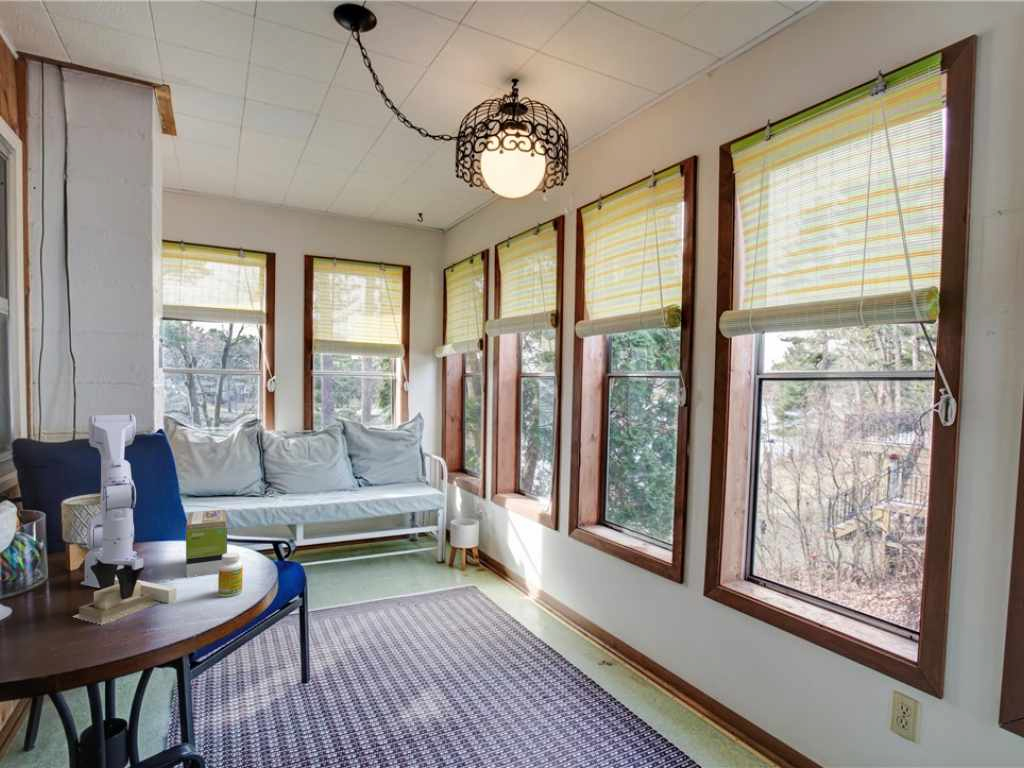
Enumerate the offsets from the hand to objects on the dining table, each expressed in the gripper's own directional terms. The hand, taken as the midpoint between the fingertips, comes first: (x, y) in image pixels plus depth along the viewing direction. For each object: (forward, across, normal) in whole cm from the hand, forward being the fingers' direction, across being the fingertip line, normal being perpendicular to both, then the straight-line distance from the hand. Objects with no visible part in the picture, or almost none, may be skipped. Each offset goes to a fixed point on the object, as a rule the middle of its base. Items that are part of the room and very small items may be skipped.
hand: (117, 595), depth 130 cm
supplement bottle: (+4, -15, -18) cm, 24 cm away
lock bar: (+3, 0, 0) cm, 3 cm away
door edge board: (+3, +3, -8) cm, 10 cm away
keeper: (+3, 0, 0) cm, 3 cm away
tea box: (+4, +7, -30) cm, 31 cm away
